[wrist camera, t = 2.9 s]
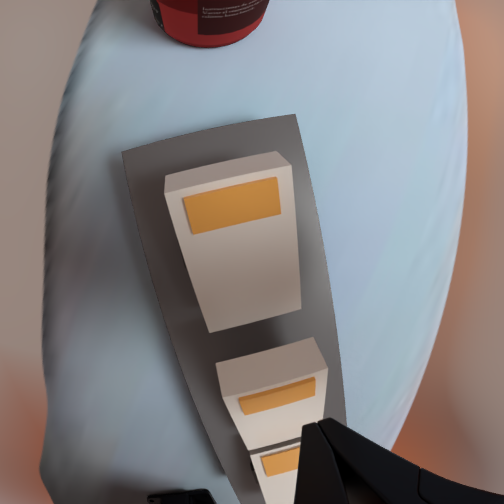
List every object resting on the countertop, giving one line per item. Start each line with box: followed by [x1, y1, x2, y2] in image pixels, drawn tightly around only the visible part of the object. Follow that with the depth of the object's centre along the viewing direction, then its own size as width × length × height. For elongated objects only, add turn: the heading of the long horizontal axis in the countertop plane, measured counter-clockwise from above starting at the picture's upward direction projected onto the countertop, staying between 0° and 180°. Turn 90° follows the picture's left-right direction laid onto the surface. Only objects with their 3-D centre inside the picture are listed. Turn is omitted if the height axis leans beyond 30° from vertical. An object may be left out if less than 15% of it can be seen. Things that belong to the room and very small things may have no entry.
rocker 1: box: [164, 151, 301, 333], centre depth 13 cm, size 7×4×2 cm, turn 13°
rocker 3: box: [250, 436, 301, 504], centre depth 16 cm, size 7×4×2 cm, turn 12°
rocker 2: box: [216, 337, 328, 450], centre depth 15 cm, size 7×4×2 cm, turn 13°
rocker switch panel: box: [122, 114, 347, 504], centre depth 19 cm, size 30×9×5 cm, turn 12°
